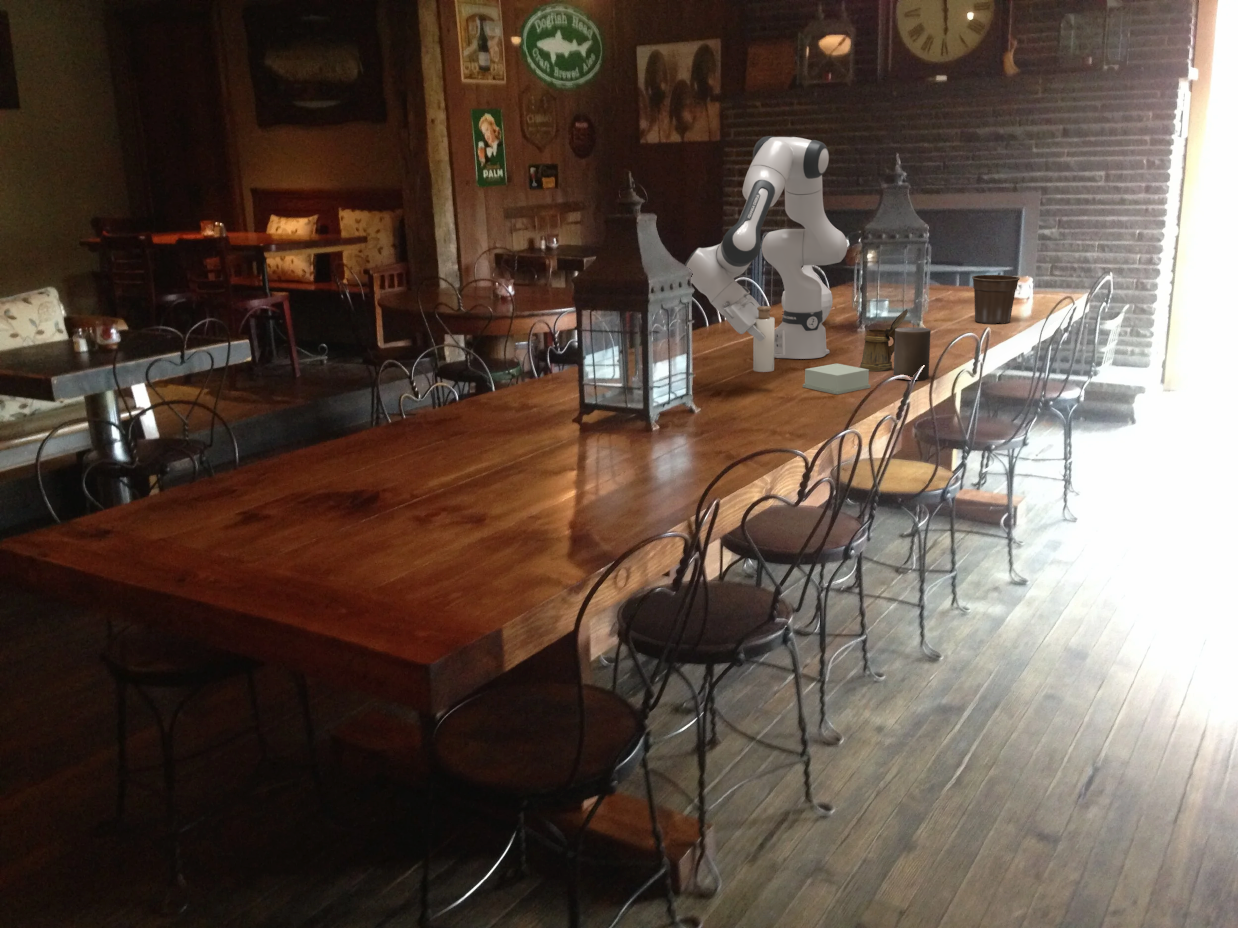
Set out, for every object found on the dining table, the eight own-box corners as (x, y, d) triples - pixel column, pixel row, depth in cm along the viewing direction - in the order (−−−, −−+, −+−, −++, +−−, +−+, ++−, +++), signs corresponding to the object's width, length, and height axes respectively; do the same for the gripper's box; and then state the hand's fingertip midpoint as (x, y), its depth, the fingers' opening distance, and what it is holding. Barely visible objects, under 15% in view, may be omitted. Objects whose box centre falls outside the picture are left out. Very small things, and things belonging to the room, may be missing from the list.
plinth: (802, 387, 307) (803, 369, 306) (836, 380, 314) (836, 363, 313) (836, 394, 297) (837, 376, 296) (870, 387, 304) (871, 369, 303)
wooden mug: (899, 374, 321) (901, 311, 316) (855, 369, 329) (856, 308, 324) (911, 368, 328) (913, 307, 323) (867, 364, 336) (869, 304, 331)
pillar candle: (929, 381, 310) (932, 327, 306) (893, 380, 312) (895, 327, 308) (927, 375, 319) (930, 322, 315) (892, 374, 321) (894, 322, 317)
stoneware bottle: (749, 368, 306) (749, 306, 301) (768, 366, 307) (768, 304, 303) (759, 372, 301) (759, 309, 296) (777, 370, 302) (778, 307, 297)
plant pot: (1021, 320, 408) (1024, 275, 403) (1010, 326, 395) (1013, 280, 390) (976, 317, 416) (978, 273, 412) (964, 323, 403) (966, 278, 399)
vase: (772, 323, 416) (773, 241, 408) (817, 320, 421) (819, 239, 413) (794, 330, 399) (796, 245, 391) (841, 326, 404) (843, 242, 396)
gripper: (728, 297, 291) (765, 336, 291) (747, 286, 309) (782, 322, 309) (712, 314, 294) (748, 352, 293) (732, 302, 312) (766, 338, 312)
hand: (766, 337), depth 301 cm, fingers closed on stoneware bottle, 6 cm apart
